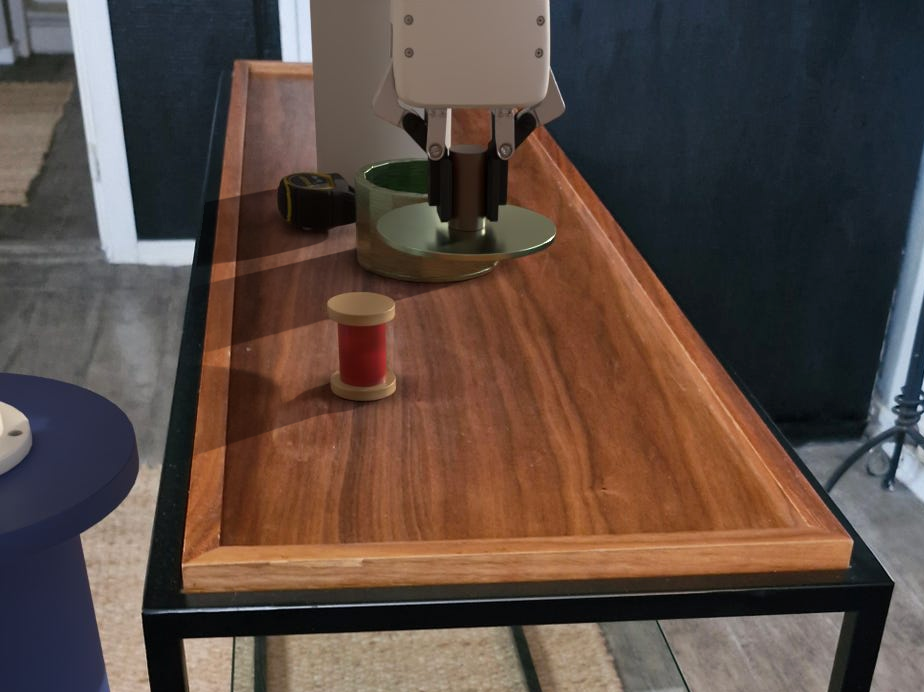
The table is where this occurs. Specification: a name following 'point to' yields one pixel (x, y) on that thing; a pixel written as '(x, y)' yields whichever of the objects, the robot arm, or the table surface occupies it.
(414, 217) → the lid
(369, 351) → the spool
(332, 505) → the table surface
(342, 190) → the tape measure
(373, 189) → the sewing tin
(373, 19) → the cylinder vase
